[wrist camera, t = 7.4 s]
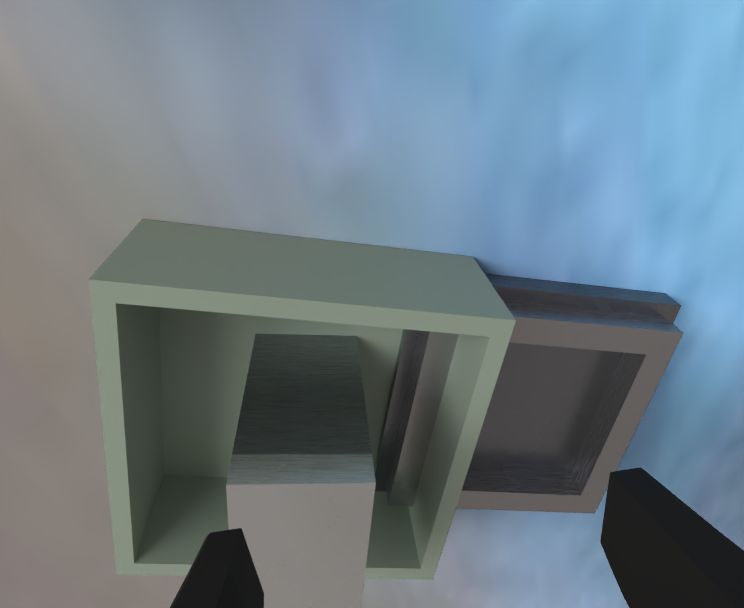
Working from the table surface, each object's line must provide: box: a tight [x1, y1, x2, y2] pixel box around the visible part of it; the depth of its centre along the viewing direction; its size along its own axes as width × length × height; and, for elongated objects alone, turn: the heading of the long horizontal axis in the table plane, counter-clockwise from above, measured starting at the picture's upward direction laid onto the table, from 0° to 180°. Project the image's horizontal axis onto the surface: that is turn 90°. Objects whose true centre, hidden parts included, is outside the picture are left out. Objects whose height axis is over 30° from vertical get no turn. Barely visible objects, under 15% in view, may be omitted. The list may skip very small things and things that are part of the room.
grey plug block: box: [226, 334, 376, 608], centre depth 17 cm, size 4×5×7 cm
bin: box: [88, 219, 516, 579], centre depth 18 cm, size 11×11×5 cm
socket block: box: [374, 274, 683, 513], centre depth 21 cm, size 10×10×2 cm
